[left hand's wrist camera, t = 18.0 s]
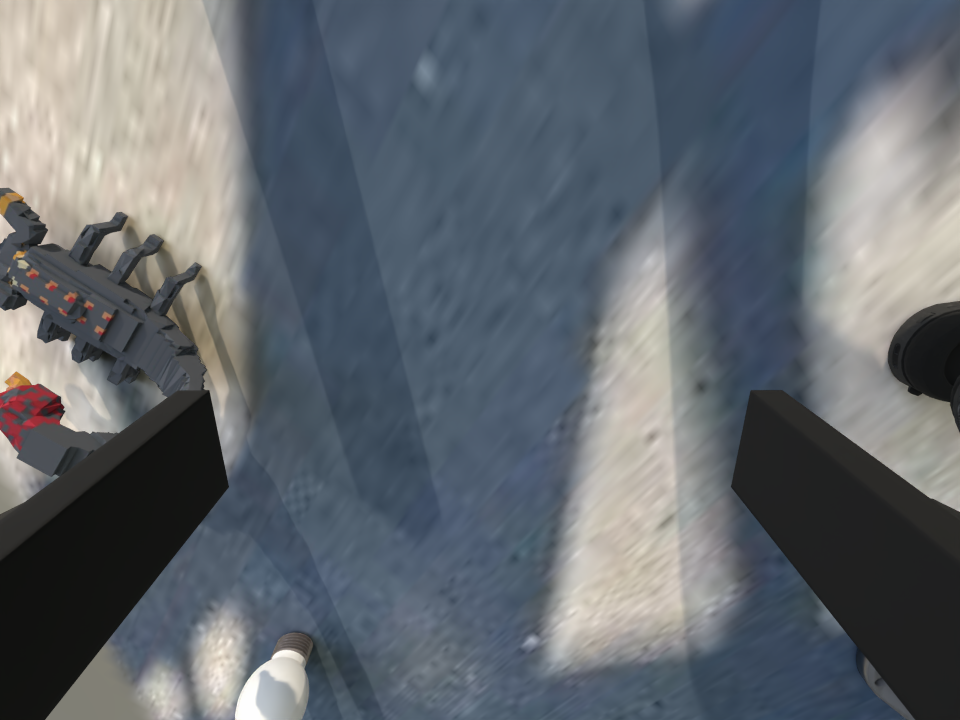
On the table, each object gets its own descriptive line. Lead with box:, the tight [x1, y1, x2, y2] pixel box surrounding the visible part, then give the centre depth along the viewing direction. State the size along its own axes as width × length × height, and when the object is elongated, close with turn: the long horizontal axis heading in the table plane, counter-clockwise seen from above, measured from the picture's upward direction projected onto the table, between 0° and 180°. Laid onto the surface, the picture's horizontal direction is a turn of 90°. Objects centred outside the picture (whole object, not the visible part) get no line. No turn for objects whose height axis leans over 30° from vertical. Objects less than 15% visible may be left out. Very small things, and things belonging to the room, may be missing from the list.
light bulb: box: [235, 633, 313, 720], centre depth 53 cm, size 7×7×11 cm
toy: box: [0, 188, 207, 477], centre depth 36 cm, size 13×27×18 cm, turn 52°
